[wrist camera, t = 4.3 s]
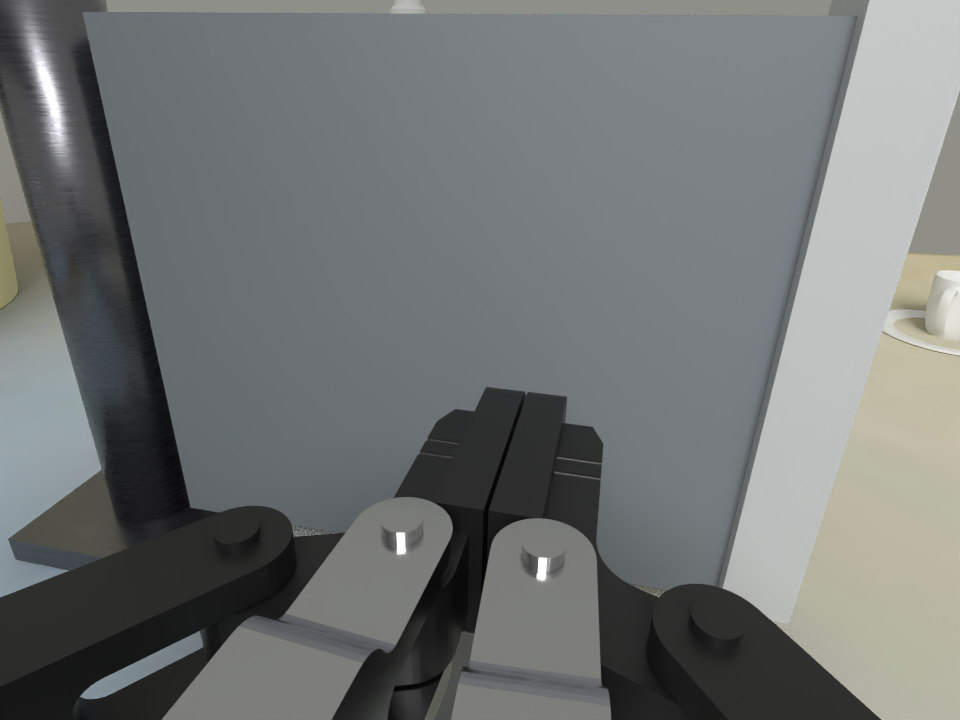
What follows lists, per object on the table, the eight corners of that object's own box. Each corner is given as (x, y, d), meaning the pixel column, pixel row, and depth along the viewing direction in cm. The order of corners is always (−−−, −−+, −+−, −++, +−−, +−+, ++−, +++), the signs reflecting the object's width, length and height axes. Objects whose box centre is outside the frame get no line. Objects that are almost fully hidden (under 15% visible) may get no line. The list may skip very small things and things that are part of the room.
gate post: (15, 559, 19) (-358, -417, 10) (148, 455, 25) (-23, -249, 16) (185, 593, 18) (-69, -468, 9) (285, 477, 23) (186, -267, 15)
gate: (181, 516, 19) (56, -33, 13) (225, 473, 22) (135, -17, 15) (788, 623, 16) (1001, -43, 10) (770, 560, 18) (935, -22, 12)
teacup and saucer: (940, 311, 44) (960, 255, 42) (1064, 356, 37) (1094, 291, 35) (842, 322, 41) (859, 263, 40) (956, 372, 34) (982, 303, 33)
